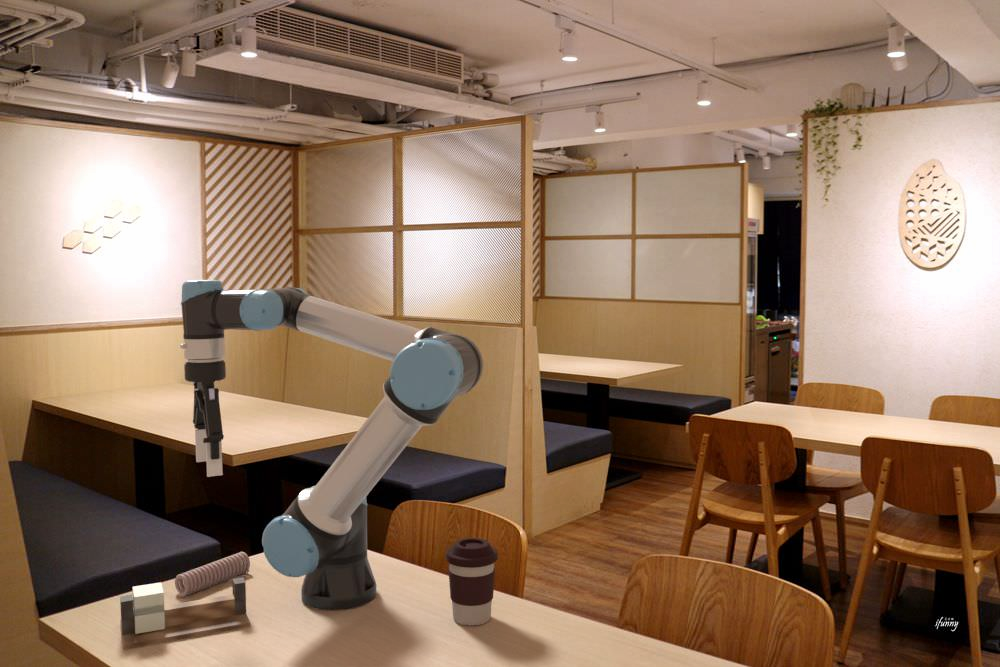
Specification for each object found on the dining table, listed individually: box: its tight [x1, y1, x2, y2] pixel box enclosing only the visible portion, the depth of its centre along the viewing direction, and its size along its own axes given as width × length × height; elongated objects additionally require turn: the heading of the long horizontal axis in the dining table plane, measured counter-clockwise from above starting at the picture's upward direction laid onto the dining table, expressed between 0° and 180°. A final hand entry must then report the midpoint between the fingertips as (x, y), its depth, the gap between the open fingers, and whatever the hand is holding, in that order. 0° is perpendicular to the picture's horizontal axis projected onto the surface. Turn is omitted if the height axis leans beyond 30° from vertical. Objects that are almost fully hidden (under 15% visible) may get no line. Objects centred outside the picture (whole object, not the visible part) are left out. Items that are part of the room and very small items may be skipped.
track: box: [119, 576, 251, 650], centre depth 163 cm, size 22×12×7 cm, turn 116°
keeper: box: [132, 581, 165, 634], centre depth 160 cm, size 5×6×7 cm
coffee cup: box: [445, 537, 499, 627], centre depth 166 cm, size 10×10×15 cm
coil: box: [174, 551, 251, 598], centre depth 184 cm, size 5×5×18 cm
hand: (209, 468), depth 168 cm, fingers open, 13 cm apart
